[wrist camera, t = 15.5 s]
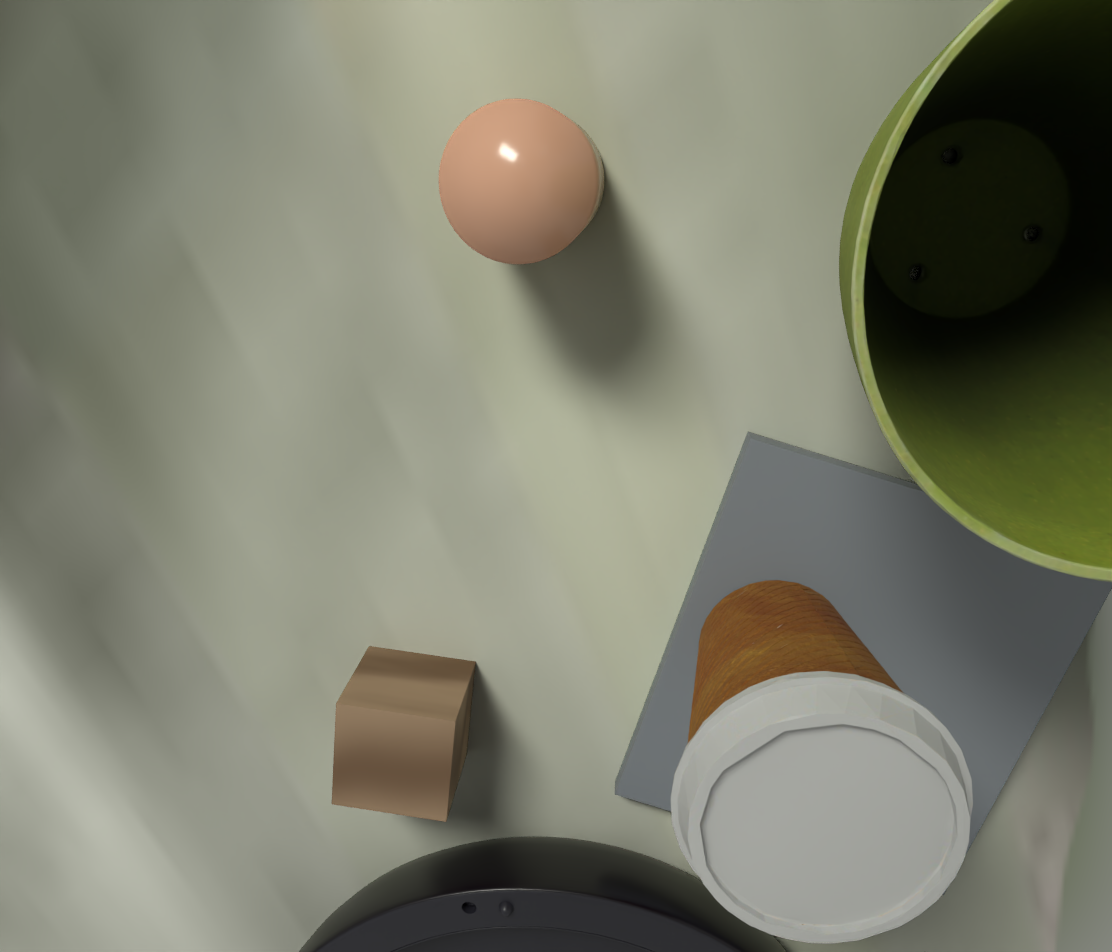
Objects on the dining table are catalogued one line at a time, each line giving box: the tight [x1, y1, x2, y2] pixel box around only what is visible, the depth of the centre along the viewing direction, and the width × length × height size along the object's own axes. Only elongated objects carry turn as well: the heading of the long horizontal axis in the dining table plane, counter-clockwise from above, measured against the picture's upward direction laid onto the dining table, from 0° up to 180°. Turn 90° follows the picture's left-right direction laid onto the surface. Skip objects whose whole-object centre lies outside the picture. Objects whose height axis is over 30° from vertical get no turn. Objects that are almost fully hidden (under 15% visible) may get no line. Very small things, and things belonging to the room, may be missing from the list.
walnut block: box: [332, 646, 476, 822], centre depth 42 cm, size 5×5×5 cm
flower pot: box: [839, 0, 1112, 582], centre depth 28 cm, size 15×15×16 cm
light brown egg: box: [439, 99, 604, 264], centre depth 33 cm, size 5×5×7 cm
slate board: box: [615, 432, 1112, 895], centre depth 41 cm, size 18×16×1 cm
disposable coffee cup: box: [671, 580, 973, 943], centre depth 35 cm, size 10×10×12 cm
